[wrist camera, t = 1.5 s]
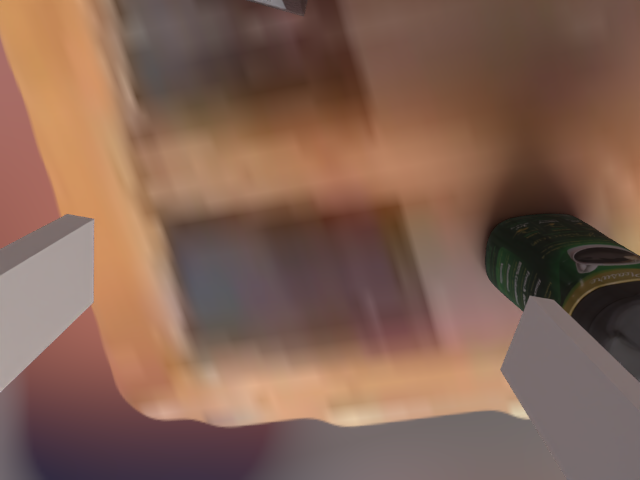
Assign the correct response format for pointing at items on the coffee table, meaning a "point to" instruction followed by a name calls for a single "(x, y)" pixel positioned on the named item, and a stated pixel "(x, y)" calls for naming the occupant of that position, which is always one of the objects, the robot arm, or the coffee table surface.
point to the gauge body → (285, 5)
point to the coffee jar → (571, 277)
